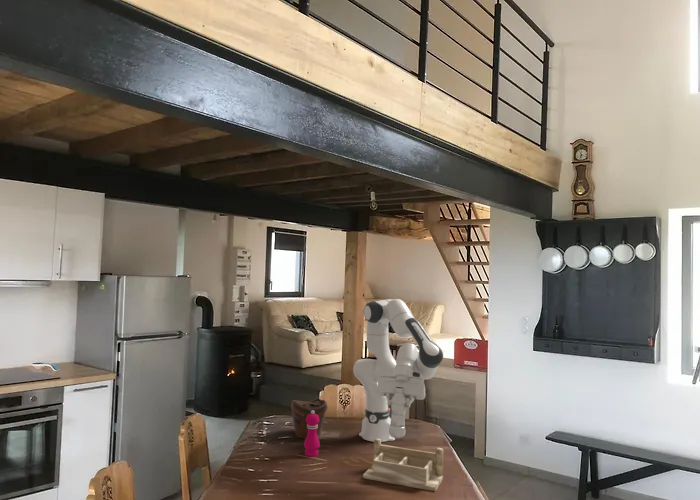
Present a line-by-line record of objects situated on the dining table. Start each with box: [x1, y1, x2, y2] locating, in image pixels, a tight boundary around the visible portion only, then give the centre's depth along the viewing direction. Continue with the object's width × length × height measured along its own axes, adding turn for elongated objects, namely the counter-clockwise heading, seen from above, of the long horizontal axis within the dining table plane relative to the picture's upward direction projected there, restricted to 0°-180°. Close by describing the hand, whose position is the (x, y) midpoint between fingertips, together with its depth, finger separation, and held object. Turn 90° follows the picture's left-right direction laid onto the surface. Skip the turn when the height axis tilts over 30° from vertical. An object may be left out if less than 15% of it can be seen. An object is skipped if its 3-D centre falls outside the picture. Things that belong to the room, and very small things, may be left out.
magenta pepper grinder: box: [303, 410, 321, 457], centre depth 246 cm, size 7×7×20 cm
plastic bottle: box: [389, 387, 408, 439], centre depth 219 cm, size 6×7×20 cm
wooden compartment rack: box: [362, 439, 444, 492], centre depth 221 cm, size 14×30×12 cm, turn 68°
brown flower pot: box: [290, 398, 328, 439], centre depth 274 cm, size 18×20×18 cm
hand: (398, 405), depth 219 cm, fingers closed on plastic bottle, 6 cm apart
